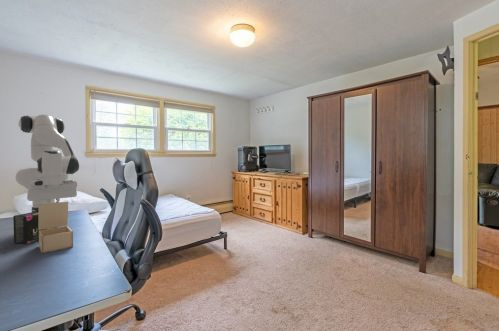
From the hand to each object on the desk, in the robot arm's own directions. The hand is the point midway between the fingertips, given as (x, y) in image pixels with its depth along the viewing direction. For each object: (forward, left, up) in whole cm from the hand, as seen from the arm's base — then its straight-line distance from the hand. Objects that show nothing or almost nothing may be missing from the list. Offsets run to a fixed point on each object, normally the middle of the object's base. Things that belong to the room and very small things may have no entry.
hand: (53, 207), depth 127 cm
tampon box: (-16, -8, -20) cm, 26 cm away
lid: (+1, 0, -4) cm, 4 cm away
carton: (+6, 0, -19) cm, 20 cm away
